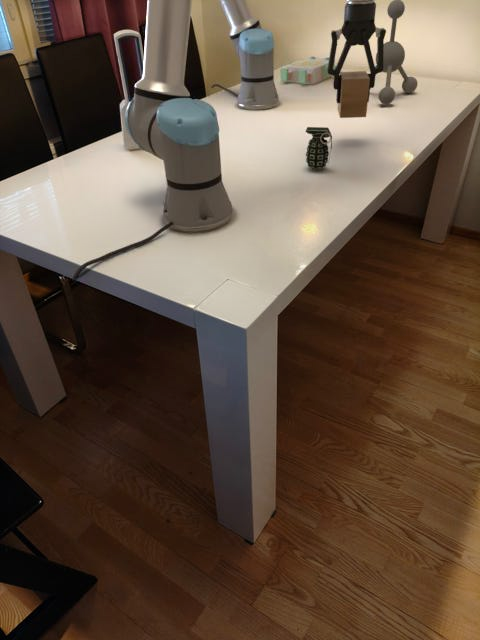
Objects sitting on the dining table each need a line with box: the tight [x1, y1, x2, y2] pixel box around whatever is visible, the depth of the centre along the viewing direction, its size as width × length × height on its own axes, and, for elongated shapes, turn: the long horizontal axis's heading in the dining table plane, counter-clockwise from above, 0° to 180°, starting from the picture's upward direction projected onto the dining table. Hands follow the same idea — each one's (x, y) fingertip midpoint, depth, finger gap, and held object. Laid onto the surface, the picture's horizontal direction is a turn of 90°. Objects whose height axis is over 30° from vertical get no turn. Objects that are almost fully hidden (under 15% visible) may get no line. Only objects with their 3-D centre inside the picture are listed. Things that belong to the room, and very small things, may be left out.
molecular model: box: [370, 0, 418, 105], centre depth 169 cm, size 24×22×30 cm
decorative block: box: [280, 56, 337, 85], centre depth 206 cm, size 26×6×20 cm
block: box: [336, 70, 370, 119], centre depth 133 cm, size 9×7×10 cm
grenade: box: [305, 126, 333, 171], centre depth 123 cm, size 7×6×10 cm
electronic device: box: [113, 29, 144, 151], centre depth 140 cm, size 12×8×30 cm, turn 105°
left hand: (352, 101), depth 134 cm, fingers closed on block, 7 cm apart
